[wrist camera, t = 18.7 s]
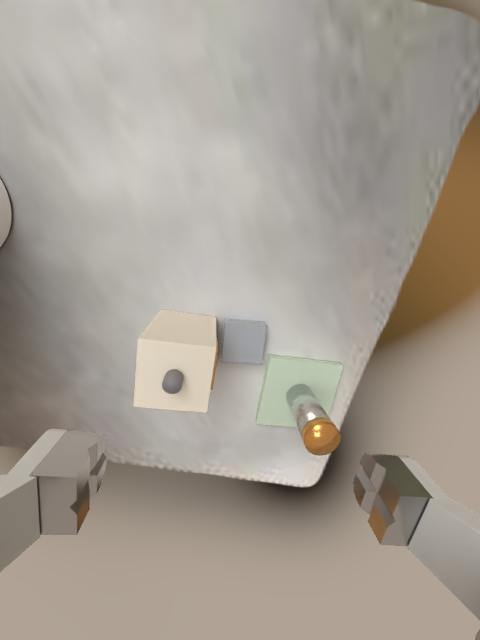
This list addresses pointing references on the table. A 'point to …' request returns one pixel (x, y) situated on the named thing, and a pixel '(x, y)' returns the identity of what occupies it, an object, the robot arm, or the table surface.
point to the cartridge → (312, 421)
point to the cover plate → (243, 341)
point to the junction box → (176, 362)
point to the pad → (288, 374)
